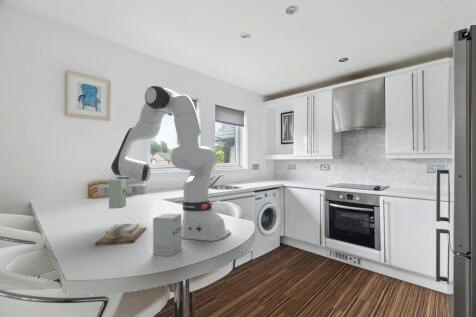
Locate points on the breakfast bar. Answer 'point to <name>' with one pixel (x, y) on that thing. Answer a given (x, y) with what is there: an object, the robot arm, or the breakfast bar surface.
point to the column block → (117, 193)
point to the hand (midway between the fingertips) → (116, 191)
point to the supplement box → (167, 234)
